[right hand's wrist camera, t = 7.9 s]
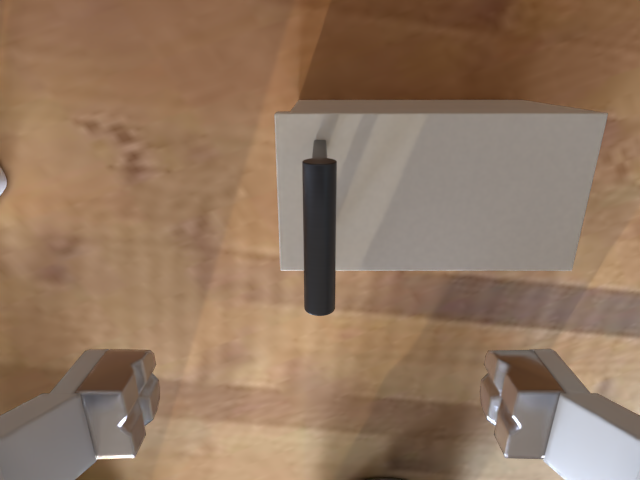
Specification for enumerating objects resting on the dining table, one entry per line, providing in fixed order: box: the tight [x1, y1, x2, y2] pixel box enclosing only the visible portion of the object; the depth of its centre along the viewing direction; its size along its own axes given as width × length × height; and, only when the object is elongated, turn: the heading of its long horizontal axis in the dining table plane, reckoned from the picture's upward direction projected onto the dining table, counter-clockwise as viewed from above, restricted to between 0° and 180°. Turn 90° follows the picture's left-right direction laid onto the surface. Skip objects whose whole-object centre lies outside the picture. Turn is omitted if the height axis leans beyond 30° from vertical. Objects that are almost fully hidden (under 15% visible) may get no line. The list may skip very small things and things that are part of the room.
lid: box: [275, 111, 608, 316], centre depth 23 cm, size 18×10×9 cm, turn 90°
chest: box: [290, 100, 591, 112], centre depth 31 cm, size 18×10×10 cm, turn 90°
